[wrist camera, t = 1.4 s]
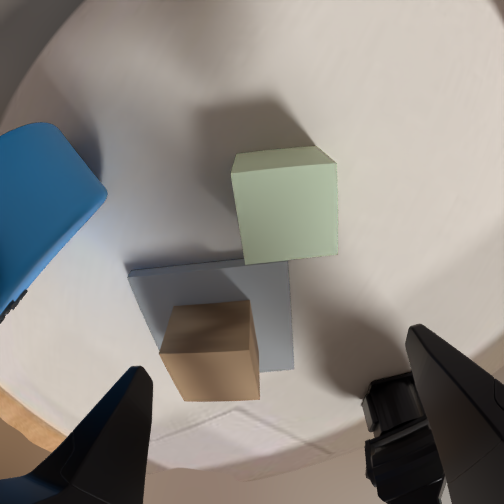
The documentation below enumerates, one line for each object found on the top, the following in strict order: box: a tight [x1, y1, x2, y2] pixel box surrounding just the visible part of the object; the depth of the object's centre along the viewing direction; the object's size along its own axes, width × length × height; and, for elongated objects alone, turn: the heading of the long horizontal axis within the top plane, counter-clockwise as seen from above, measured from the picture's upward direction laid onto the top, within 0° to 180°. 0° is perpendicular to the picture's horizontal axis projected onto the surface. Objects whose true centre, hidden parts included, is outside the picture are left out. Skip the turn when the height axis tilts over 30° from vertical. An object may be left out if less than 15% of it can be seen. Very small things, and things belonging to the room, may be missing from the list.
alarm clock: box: [0, 122, 108, 324], centre depth 12 cm, size 13×6×15 cm, turn 125°
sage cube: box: [231, 146, 338, 265], centre depth 17 cm, size 5×5×5 cm
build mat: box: [127, 259, 294, 372], centre depth 24 cm, size 12×12×1 cm
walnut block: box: [159, 300, 260, 402], centre depth 22 cm, size 6×6×5 cm
